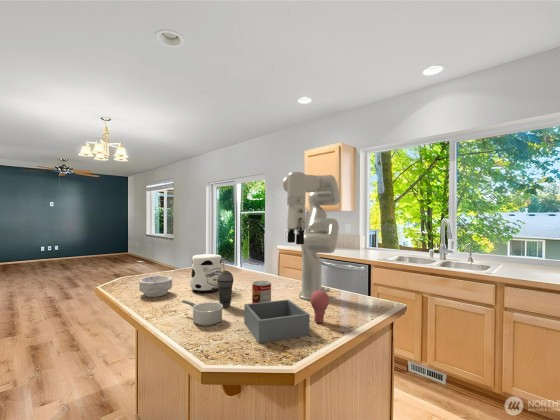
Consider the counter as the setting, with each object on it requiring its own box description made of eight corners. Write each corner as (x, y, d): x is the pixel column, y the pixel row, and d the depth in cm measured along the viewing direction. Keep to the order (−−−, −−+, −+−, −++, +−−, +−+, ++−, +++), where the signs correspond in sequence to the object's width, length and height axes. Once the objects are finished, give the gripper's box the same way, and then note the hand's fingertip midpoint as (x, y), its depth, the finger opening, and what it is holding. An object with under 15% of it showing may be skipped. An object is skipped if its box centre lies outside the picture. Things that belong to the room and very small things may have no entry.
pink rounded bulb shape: (331, 320, 110) (331, 289, 110) (326, 327, 104) (326, 294, 104) (313, 317, 113) (313, 287, 113) (307, 323, 107) (307, 291, 107)
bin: (288, 317, 113) (288, 299, 113) (309, 335, 97) (309, 314, 97) (244, 323, 107) (244, 304, 107) (258, 343, 90) (258, 321, 90)
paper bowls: (160, 299, 134) (161, 283, 135) (131, 298, 137) (132, 281, 137) (177, 291, 149) (178, 276, 150) (151, 289, 152) (151, 274, 152)
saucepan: (193, 310, 121) (193, 297, 121) (229, 319, 110) (229, 305, 110) (170, 318, 111) (170, 304, 111) (207, 329, 100) (207, 313, 100)
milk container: (219, 294, 145) (219, 258, 145) (185, 294, 145) (185, 258, 145) (225, 285, 162) (226, 254, 162) (195, 285, 162) (196, 253, 162)
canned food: (262, 307, 125) (262, 279, 125) (274, 311, 120) (274, 283, 120) (248, 311, 120) (248, 282, 120) (260, 316, 114) (260, 286, 114)
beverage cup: (229, 309, 122) (230, 262, 122) (213, 308, 123) (214, 261, 124) (235, 304, 129) (236, 259, 129) (220, 303, 130) (221, 259, 131)
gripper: (313, 201, 112) (312, 245, 111) (296, 203, 128) (296, 241, 127) (295, 200, 109) (294, 245, 109) (281, 202, 126) (280, 241, 125)
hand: (295, 243), depth 118 cm, fingers open, 9 cm apart
